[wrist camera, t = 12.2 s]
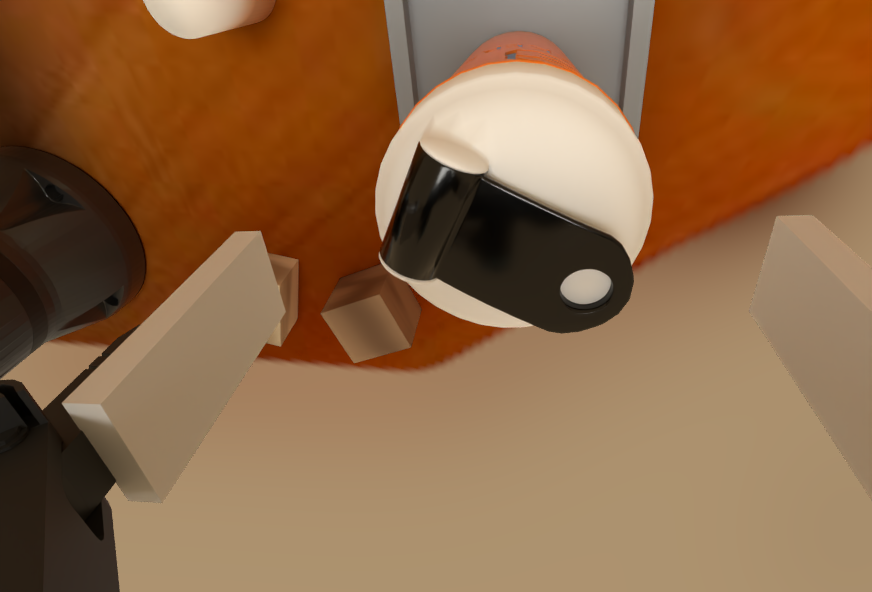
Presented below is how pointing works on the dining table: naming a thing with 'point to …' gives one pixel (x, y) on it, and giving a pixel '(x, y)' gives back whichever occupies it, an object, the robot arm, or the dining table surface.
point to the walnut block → (372, 313)
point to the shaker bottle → (516, 192)
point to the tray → (530, 12)
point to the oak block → (285, 295)
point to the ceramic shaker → (207, 15)
